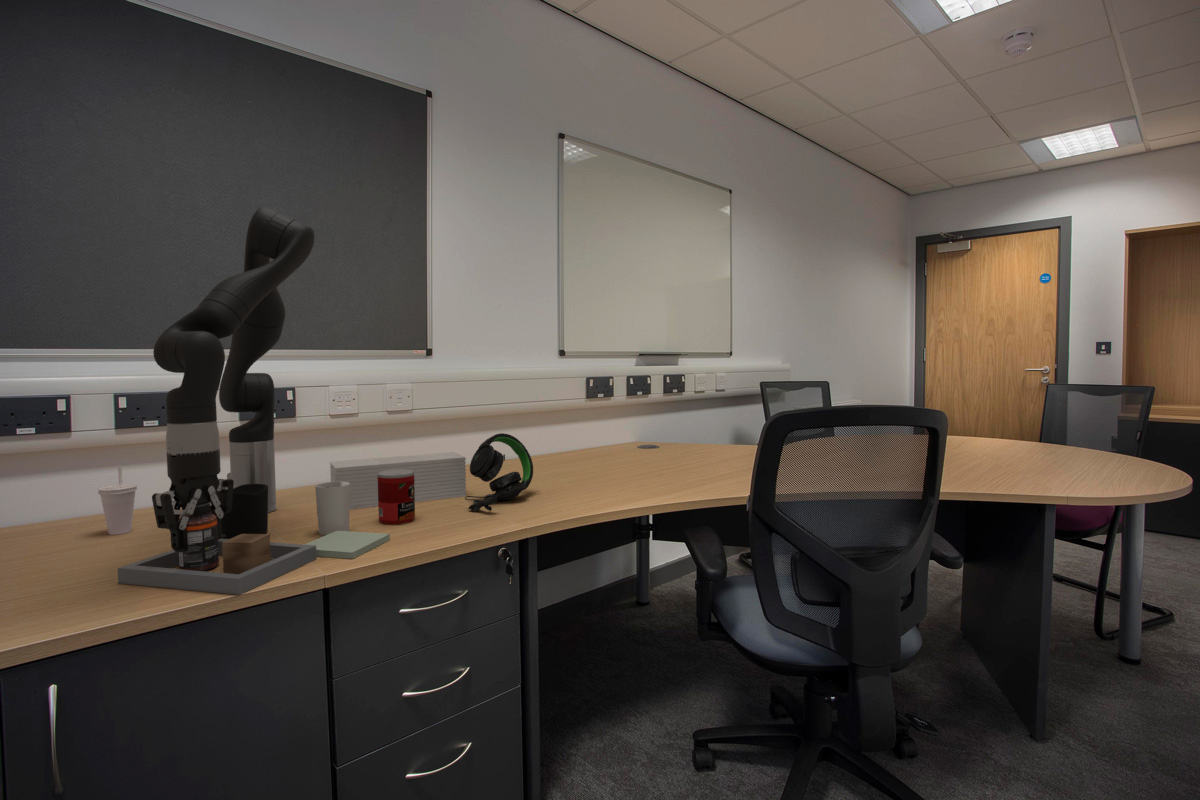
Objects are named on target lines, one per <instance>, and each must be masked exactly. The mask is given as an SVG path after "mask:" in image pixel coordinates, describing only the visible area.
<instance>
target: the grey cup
mask: <svg viewBox="0 0 1200 800" xmlns="http://www.w3.org/2000/svg"><path fill="white" fill-rule="evenodd" d="M314 488H315V498H316V499H315V502H316V510H317V512H316V513H317V525H318V534H319V535H322V536H325V535H328V534H330V533H333V532H335V531H350V510H349V504H350V483H349V482H331V481H329V482H328V481H327V482H321V483H318V484H316V485H315V486H314Z"/></svg>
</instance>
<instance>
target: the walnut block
mask: <svg viewBox="0 0 1200 800" xmlns="http://www.w3.org/2000/svg"><path fill="white" fill-rule="evenodd" d="M270 542H271V534H270V533H266V534H240V535H238V536H236V537H233V538H231V539H229V540H227V541H224V542H222V553H223V555H222V570H223V572H222V573H228V574H241V573H243V572H246V571H248V570H250V569H253V568H255V567H257V566H260V565H262V564H264V563H267V562H269V561H272V559H271V552H270Z"/></svg>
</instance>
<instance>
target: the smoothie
mask: <svg viewBox="0 0 1200 800" xmlns="http://www.w3.org/2000/svg"><path fill="white" fill-rule="evenodd" d="M117 469H118V471H117V472H118V484H113V485H106V486H102V487H100V488H98V491H97V494H98V495H100V499H101V503H102V505H101V506H102V508H103V510H102V511H103V512H104V513H103V514H104V519H105V522H106V527H107V532H108V535H109V534H110V535H111V536H115V535H124V534H128V533H130V532H132V527H133V526H132V525H133V517H134V506H135V497H136V491H137V490H138V487H137V484H134V483H123V471H122V469H123V468H122V465H117Z"/></svg>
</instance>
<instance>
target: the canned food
mask: <svg viewBox="0 0 1200 800" xmlns="http://www.w3.org/2000/svg"><path fill="white" fill-rule="evenodd" d="M415 503H416V502H415V486H414V471H412V470H405V469H397V470H386V471H382V472H379V473H378V506H377V507H378V510H377V511H378V519H379V522H380V523H381V524H383V525H403V524H407V523H411V522H413V521H414V520H415V517H416V504H415Z"/></svg>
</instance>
